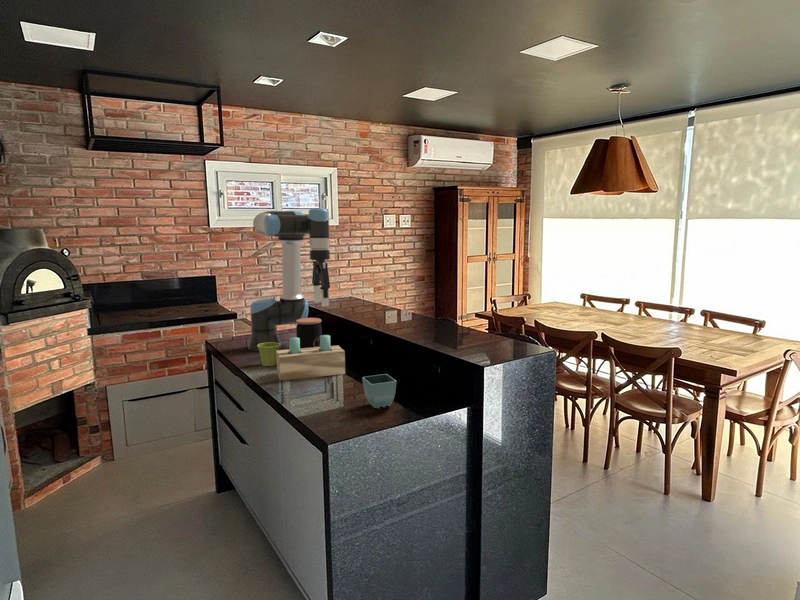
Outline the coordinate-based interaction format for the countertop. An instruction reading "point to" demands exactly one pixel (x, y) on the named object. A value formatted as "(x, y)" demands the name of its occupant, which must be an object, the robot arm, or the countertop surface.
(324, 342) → the peg
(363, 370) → the countertop surface
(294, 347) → the peg
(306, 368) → the socket block
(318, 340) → the coffee jar
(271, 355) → the plant pot
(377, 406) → the flower pot
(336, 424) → the countertop surface
